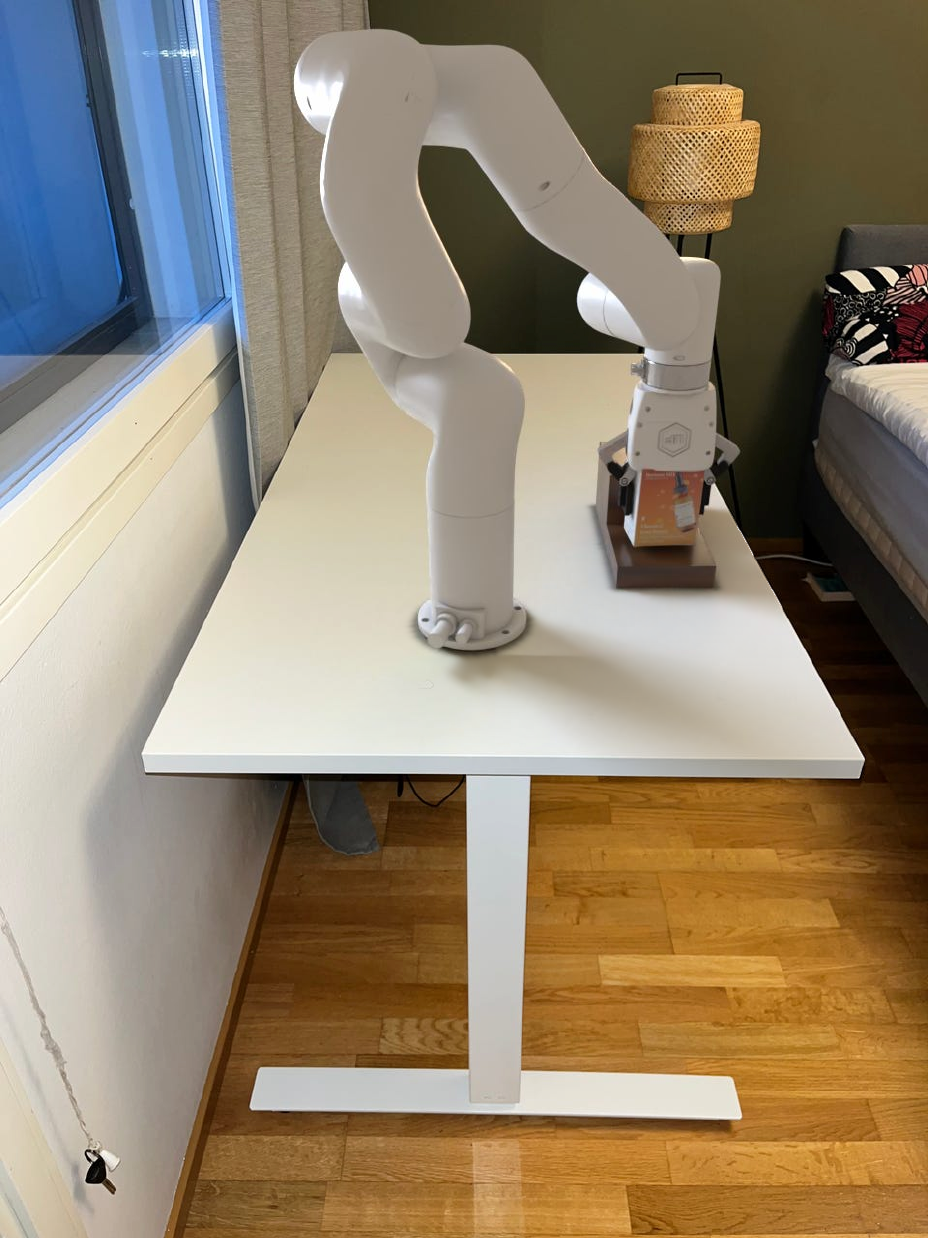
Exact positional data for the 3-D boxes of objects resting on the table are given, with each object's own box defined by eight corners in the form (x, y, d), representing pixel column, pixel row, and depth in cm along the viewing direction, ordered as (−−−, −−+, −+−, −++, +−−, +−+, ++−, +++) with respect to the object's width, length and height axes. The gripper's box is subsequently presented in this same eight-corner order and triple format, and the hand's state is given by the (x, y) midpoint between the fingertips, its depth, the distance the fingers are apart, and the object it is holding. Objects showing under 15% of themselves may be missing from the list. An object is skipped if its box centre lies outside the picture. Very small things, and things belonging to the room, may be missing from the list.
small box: (632, 548, 118) (639, 469, 112) (623, 528, 122) (629, 451, 117) (696, 545, 118) (706, 466, 113) (684, 526, 123) (693, 449, 117)
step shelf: (713, 587, 117) (723, 513, 112) (616, 588, 117) (621, 514, 112) (678, 506, 137) (685, 440, 132) (595, 507, 138) (599, 441, 132)
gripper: (604, 383, 106) (595, 524, 115) (760, 381, 106) (739, 523, 115) (596, 364, 113) (589, 499, 122) (744, 362, 112) (725, 497, 121)
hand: (662, 510), depth 118 cm, fingers closed on small box, 8 cm apart
